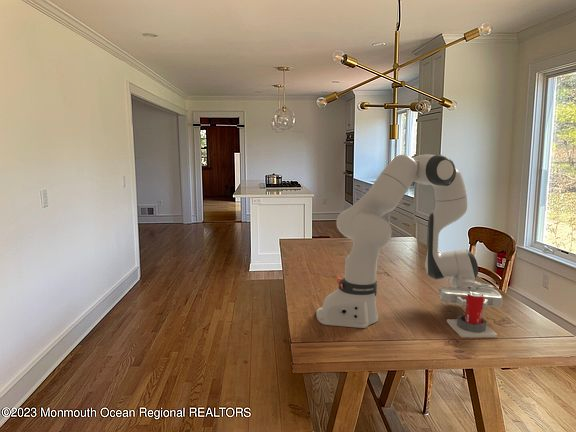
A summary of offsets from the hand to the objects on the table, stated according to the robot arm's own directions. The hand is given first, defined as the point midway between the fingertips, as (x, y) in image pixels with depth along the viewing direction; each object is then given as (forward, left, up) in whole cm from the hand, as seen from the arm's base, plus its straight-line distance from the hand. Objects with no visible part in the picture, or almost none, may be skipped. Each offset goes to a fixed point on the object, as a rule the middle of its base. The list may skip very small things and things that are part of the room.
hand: (474, 305), depth 142 cm
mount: (0, +1, -9) cm, 9 cm away
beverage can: (0, 0, -8) cm, 8 cm away
